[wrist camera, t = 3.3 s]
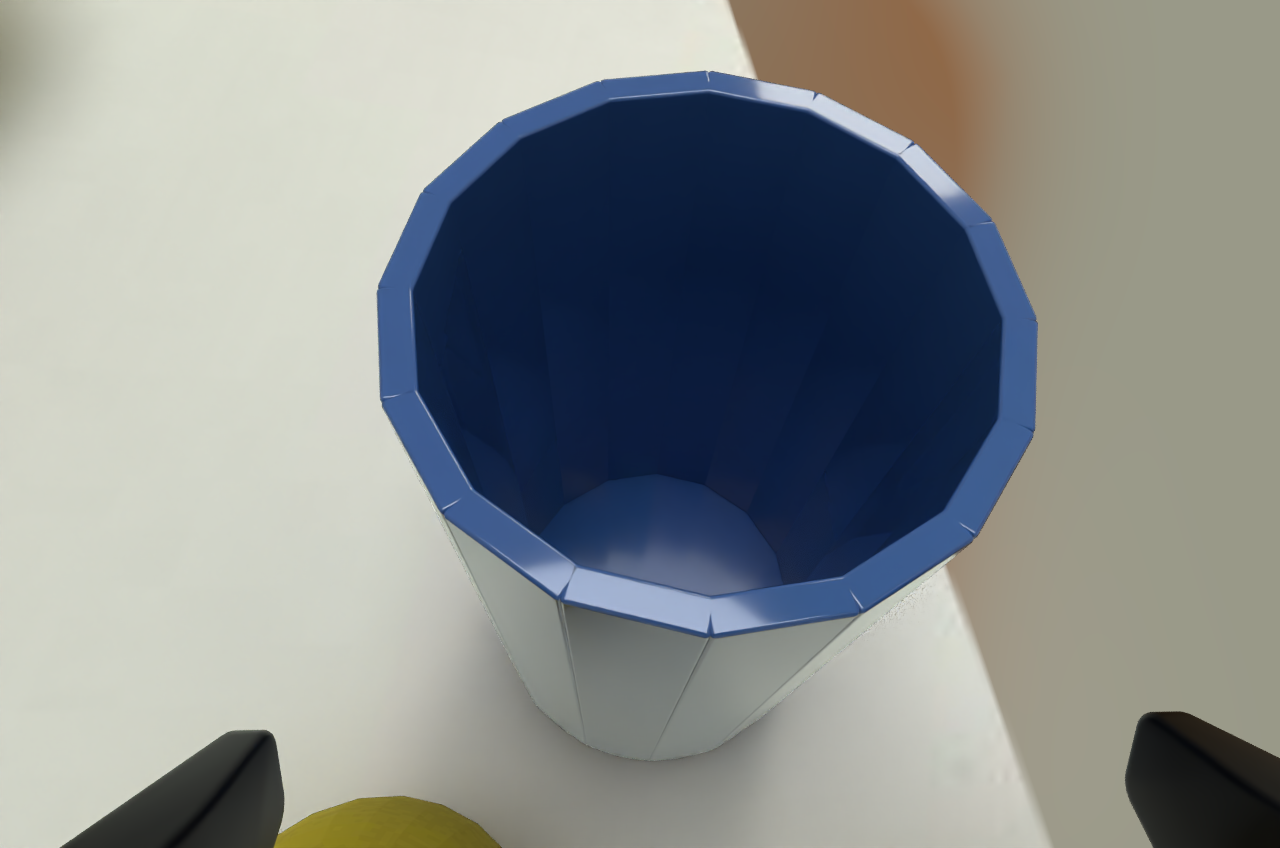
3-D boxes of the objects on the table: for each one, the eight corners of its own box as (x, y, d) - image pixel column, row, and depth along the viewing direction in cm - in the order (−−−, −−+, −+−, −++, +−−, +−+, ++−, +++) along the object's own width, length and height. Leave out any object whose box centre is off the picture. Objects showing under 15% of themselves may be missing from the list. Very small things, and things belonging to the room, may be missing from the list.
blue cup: (829, 732, 20) (1150, 569, 8) (521, 786, 19) (387, 690, 7) (760, 455, 23) (920, 50, 11) (493, 491, 22) (369, 98, 11)
